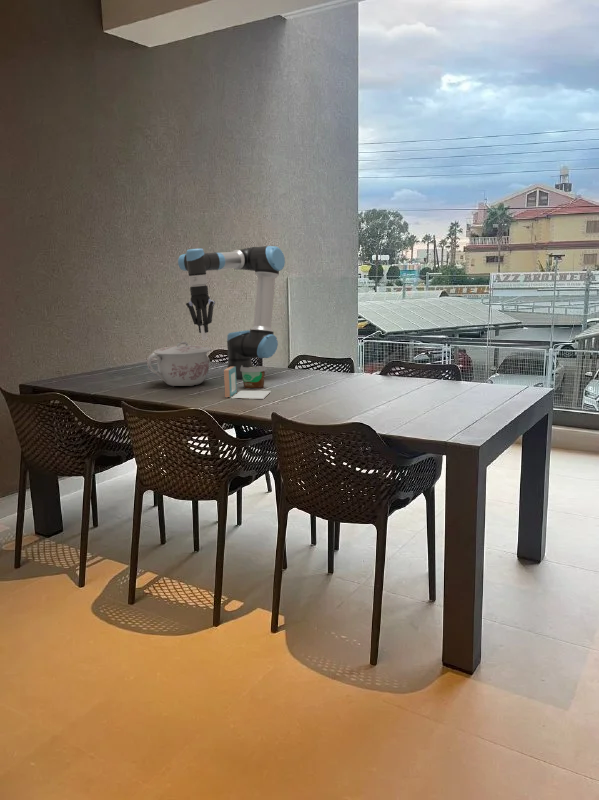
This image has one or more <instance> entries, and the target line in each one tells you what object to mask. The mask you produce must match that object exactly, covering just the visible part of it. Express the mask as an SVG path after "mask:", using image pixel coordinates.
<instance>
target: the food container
mask: <svg viewBox="0 0 599 800" xmlns="http://www.w3.org/2000/svg"><path fill="white" fill-rule="evenodd" d="M240 371H242V377H243V379H242V383H243V388H244V387H245V388H244V389H246V388H260V389H263V388H264V387H265V372H266V371H267V369H266V366H265V365H264V366H263V365H262V366H258V367H256V366H253V367H242V366H241V369H240Z"/></svg>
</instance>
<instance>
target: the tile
mask: <svg viewBox="0 0 599 800" xmlns="http://www.w3.org/2000/svg"><path fill="white" fill-rule="evenodd" d="M223 379H224V381H223V382H224V398H225V397H231V396H233V395H234V394H235V393H238V390H237V389H238V384H237V382H238V381H237V379H236V367H235V366H230V367H229V368H227V367H226V368H225V369H224V370H223Z"/></svg>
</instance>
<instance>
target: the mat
mask: <svg viewBox="0 0 599 800" xmlns="http://www.w3.org/2000/svg"><path fill="white" fill-rule="evenodd" d="M269 393H270V394H271V393H272V390H239V391H237V394H235V395H234V396H233V397H231V398H249V399H263V400H265V399H266V398H267V397H268V396H269V395H270V394H269ZM268 394H269V395H268ZM267 395H268V396H267ZM266 396H267V397H266ZM265 397H266V398H265ZM231 398H230V399H231ZM264 398H265V399H264Z"/></svg>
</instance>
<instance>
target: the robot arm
mask: <svg viewBox="0 0 599 800" xmlns="http://www.w3.org/2000/svg"><path fill="white" fill-rule="evenodd" d="M185 252H186V253H184V254H181V255H179V257H178V259H177V265H178V267H179V269H180V270H182V271H186V272H188V282H189V286H190V288H189V289H190V290H189V292H190V300H189V302H186V303H185V305H186V306H187V308H188V311H189V313H190V317H191V319H192V322H193V324H194V325H197V326H198V333H199V334H200V336H201V337H200V338H201V341H202V342H205V341H207V340H209V339H208V333H209V324H211V323H213V315H214V314H213V312H214V307H215V304H216V301H215V300H212V299H211V298H210V296H209V289H208V287H209V286H208V285H207V284H208V278H207V271H209V272H210V271H219V270H223V269H234V270H237V271H238V270H239V271H240V270H241V271H251V272H254V274H255V275H256V276H257V282H256V291H255V293H256V294H255V305H254V306H255V307H254V316H253V326H252V327H251V328H250V329H248V330H241V331H239V330H238V331H233V332H232V331H231V332H229V333H228V334H227V338H226V339H227V340H226V342H227V343H226V345H227V346H226V347H227V360H228V361H227V366H226V369H227V368H229V367H230V366H235V367H236V380H243V377H242V371H240V369H241V366H242V367H254V364H253V362H252V358H256V359H269V358H272V357H273V355H275V353H276V352H277V350H278V345H279V342H278V339H277V336H276V335H275V334H274V333H275V331H274V330H273V328H272V321H273V320H272V319H273V310H274V309H273V308H274V298H275V296H274V295H275V285H276V278H278V277H279V274H280V271H282V270H283V269H284V267H285V263H286V259H285V255H284V253H283V251H282V250H281V248H280V247H278V246H276V245H275V246H274V245H273V246H272V245H266V246H264V245H263V246H251V247H246V248H239V249H234V250H232V251H227V252H226V251H225V252H224V251H223V252H222V251H221V252H214V251H213V252H205V250H204V249H203V247H202V248H190V249H187V250H186V251H185ZM207 305H208V309H207ZM194 307H195V308H194Z"/></svg>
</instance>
